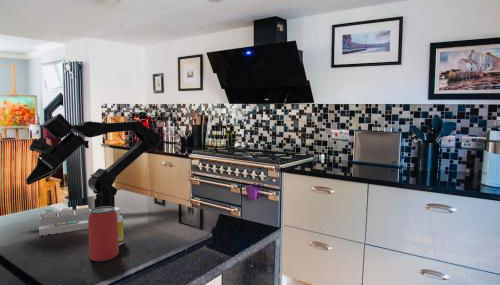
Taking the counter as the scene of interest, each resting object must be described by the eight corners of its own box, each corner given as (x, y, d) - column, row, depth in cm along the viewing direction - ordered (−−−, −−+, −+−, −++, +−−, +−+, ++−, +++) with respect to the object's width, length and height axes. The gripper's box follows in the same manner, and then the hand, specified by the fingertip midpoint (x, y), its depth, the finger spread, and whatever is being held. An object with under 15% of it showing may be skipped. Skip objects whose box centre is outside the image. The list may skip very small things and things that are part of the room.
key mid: (72, 212, 109) (72, 206, 109) (72, 215, 106) (72, 209, 106) (60, 214, 107) (60, 208, 107) (60, 217, 104) (60, 210, 104)
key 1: (56, 215, 106) (55, 208, 106) (56, 217, 103) (55, 211, 103) (43, 216, 105) (43, 210, 105) (43, 219, 102) (42, 212, 102)
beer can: (95, 252, 85) (93, 206, 84) (122, 251, 85) (120, 205, 85) (85, 263, 78) (83, 213, 77) (113, 261, 79) (112, 212, 78)
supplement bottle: (128, 241, 92) (126, 207, 91) (114, 249, 87) (112, 212, 86) (112, 239, 94) (111, 205, 93) (97, 246, 88) (96, 210, 88)
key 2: (87, 211, 111) (87, 205, 111) (88, 213, 108) (88, 207, 108) (76, 212, 109) (76, 206, 109) (76, 214, 106) (76, 208, 106)
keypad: (90, 216, 116) (89, 206, 116) (93, 228, 104) (92, 215, 104) (41, 223, 109) (41, 211, 109) (39, 236, 97) (38, 223, 97)
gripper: (45, 137, 119) (6, 169, 111) (47, 125, 103) (3, 161, 96) (70, 158, 122) (34, 191, 114) (76, 150, 107) (35, 186, 99)
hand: (27, 182), depth 106 cm, fingers open, 9 cm apart
